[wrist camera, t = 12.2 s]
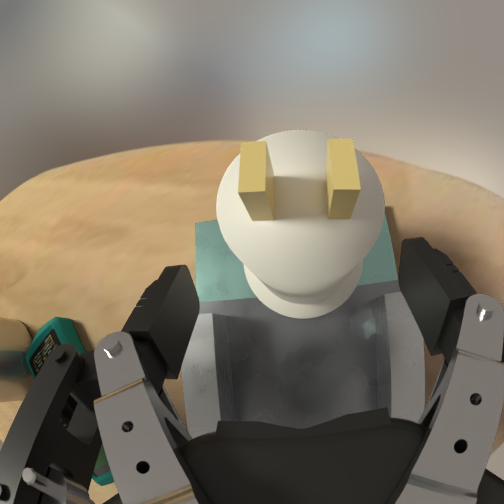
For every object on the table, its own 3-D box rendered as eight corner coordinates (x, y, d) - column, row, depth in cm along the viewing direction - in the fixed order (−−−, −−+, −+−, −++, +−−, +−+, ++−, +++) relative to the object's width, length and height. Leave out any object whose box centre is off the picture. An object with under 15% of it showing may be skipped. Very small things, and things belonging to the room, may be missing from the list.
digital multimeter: (71, 312, 21) (48, 308, 19) (162, 455, 17) (144, 468, 14) (39, 352, 21) (18, 352, 18) (115, 479, 17) (96, 490, 14)
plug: (244, 317, 17) (153, 300, 7) (249, 209, 19) (189, 89, 9) (361, 317, 16) (446, 300, 5) (355, 206, 18) (395, 80, 7)
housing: (222, 501, 15) (205, 529, 11) (200, 228, 20) (177, 206, 17) (395, 488, 13) (409, 515, 9) (378, 205, 18) (392, 178, 15)
